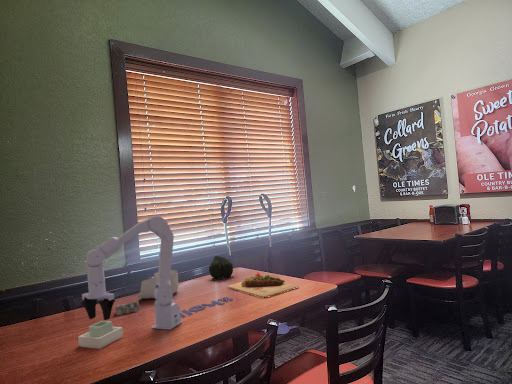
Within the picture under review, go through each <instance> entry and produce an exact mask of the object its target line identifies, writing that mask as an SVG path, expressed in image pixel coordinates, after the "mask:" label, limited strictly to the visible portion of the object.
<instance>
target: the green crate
mask: <svg viewBox="0 0 512 384" xmlns="http://www.w3.org/2000/svg"><path fill="white" fill-rule="evenodd" d="M113 327H114V325H113V321H111V320H100V321H99V322H96V323H94V324H91V325H89V326H88V332H89V336H90V337H98V338H100V337H102V336H104V335H106V334H108V333H110V332H112V331H113Z"/></svg>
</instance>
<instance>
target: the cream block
mask: <svg viewBox="0 0 512 384" xmlns="http://www.w3.org/2000/svg"><path fill="white" fill-rule="evenodd" d="M178 274H179V273H178V270H176V269H171V275H170V282H171V291H172V293H173V295H174V294H175V293H177V291H178V289H179V276H178ZM157 279H158V271H156V272H154V273H153V276H152V277H151V278H147V279H144V280H141V285H140V292H138V295H137V298H138V299H155V298H154V296H153V290H154V288H155V286H156V281H157Z"/></svg>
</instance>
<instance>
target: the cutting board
mask: <svg viewBox="0 0 512 384" xmlns="http://www.w3.org/2000/svg"><path fill="white" fill-rule="evenodd" d="M296 287H298V288H299V285H298V284H295V283H290V282H286V281H285V280H284V279H281V278H279V277H273V276H270V275H269V274H264V275H262V274H260V273H259V272H256V274H255V275H254V276H250V277H246V278H245V279H244V280H243V281H241V282H240V281H239V282H237V283H233V284H229V285H228V289H229V288H230V289H229V290H232V289H234V290H233V291H236V290H238V291H237V292H239V291H242V292H245V293H244V294H246V293H249V294H252V295H251V296H253V295H256V296H259V297H268V296H271V295H275V294H278V293H281V292H284V291H287V290H290V289H293V288H296ZM242 292H241V293H242ZM249 294H248V295H249ZM281 294H282V293H281ZM278 295H279V294H278ZM256 296H255V297H256ZM275 296H276V295H275ZM259 297H258V298H259Z"/></svg>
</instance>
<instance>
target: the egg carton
mask: <svg viewBox="0 0 512 384" xmlns="http://www.w3.org/2000/svg"><path fill="white" fill-rule="evenodd" d="M138 311H140V303H139V301H138V300H136V301H134V302H128V303H125V304H118V305H117V306H115V313H116V316H122V315H124V314H130V313H134V312H136V313H137V312H138Z"/></svg>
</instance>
